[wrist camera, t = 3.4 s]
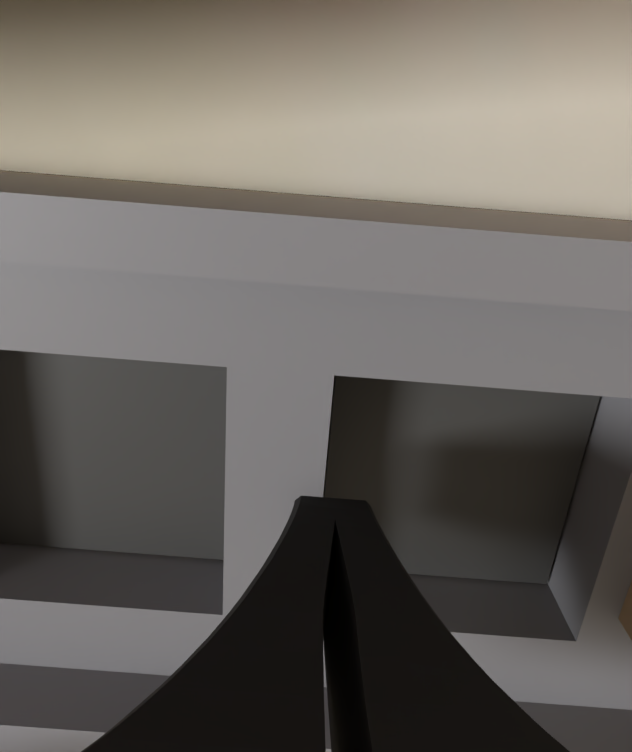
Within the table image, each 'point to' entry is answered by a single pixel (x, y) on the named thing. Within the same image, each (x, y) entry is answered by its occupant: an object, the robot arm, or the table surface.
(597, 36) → the table surface
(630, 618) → the block
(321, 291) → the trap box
